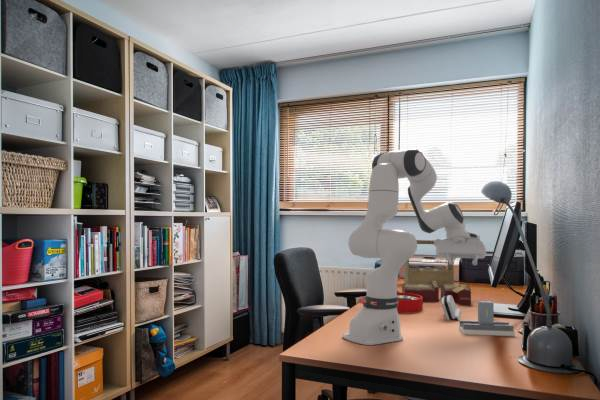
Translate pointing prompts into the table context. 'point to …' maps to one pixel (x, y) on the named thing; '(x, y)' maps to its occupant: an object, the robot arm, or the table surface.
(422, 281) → the caddy
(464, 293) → the toy houses
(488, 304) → the door panel
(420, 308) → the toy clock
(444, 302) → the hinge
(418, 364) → the table surface
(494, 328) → the track base
